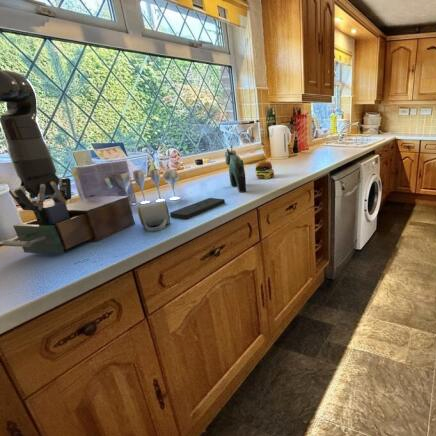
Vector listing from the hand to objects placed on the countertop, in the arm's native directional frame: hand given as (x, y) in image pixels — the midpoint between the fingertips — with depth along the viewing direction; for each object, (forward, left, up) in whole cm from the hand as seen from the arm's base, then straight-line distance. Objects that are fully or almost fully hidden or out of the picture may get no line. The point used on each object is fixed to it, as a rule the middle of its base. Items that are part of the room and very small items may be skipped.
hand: (54, 219), depth 82 cm
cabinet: (0, +12, -8) cm, 14 cm away
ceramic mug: (+16, +18, -9) cm, 25 cm away
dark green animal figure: (+21, +68, -9) cm, 71 cm away
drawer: (0, -2, -7) cm, 8 cm away
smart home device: (+20, +35, -9) cm, 41 cm away
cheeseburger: (+25, +92, -9) cm, 95 cm away
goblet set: (-9, +42, -8) cm, 44 cm away
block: (0, 0, 0) cm, 0 cm away
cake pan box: (-18, +36, -9) cm, 41 cm away
